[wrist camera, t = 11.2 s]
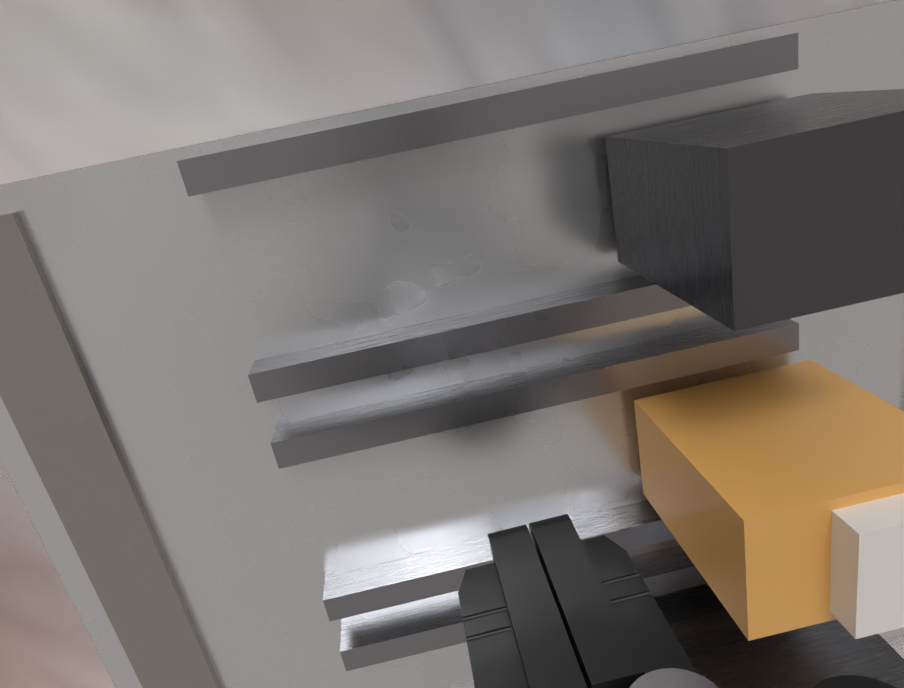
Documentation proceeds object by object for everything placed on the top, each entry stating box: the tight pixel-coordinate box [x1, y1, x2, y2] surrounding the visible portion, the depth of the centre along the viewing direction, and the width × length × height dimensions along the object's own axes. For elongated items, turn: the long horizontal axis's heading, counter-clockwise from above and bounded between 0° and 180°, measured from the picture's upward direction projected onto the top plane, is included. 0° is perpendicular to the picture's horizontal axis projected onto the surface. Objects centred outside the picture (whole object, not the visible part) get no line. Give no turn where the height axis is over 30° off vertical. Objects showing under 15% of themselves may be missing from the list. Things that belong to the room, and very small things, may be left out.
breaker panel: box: [0, 0, 904, 688], centre depth 13 cm, size 16×22×7 cm
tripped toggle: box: [634, 360, 904, 641], centre depth 12 cm, size 2×4×5 cm, turn 101°
